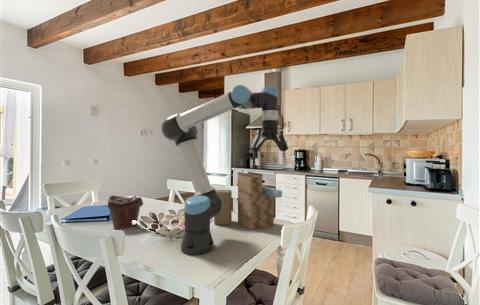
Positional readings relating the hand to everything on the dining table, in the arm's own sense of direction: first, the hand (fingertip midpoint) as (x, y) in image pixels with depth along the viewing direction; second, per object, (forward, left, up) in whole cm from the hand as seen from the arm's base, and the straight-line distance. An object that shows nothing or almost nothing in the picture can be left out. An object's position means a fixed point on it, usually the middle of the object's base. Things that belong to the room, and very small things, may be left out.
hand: (269, 164), depth 118 cm
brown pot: (-60, +65, -39) cm, 97 cm away
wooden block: (-6, +42, -39) cm, 58 cm away
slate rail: (+15, +25, -19) cm, 34 cm away
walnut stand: (+10, +31, -39) cm, 50 cm away
